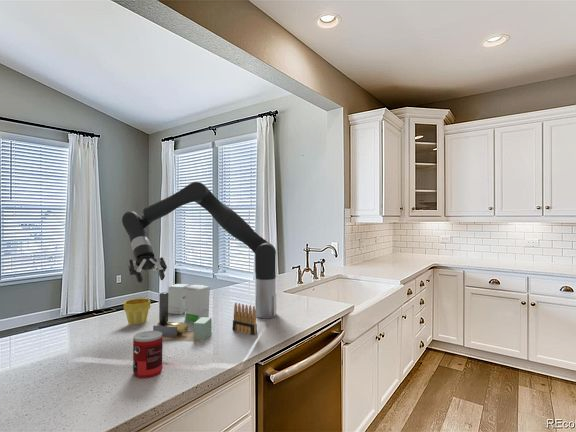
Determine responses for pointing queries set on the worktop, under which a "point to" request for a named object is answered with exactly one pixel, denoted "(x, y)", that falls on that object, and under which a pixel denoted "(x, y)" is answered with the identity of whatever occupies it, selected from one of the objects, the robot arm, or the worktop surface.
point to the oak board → (184, 337)
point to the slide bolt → (164, 314)
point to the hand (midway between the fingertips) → (152, 280)
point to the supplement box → (177, 298)
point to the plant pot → (137, 310)
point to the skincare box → (197, 302)
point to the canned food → (147, 354)
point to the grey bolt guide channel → (167, 330)
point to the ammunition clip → (245, 319)
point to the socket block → (202, 328)
